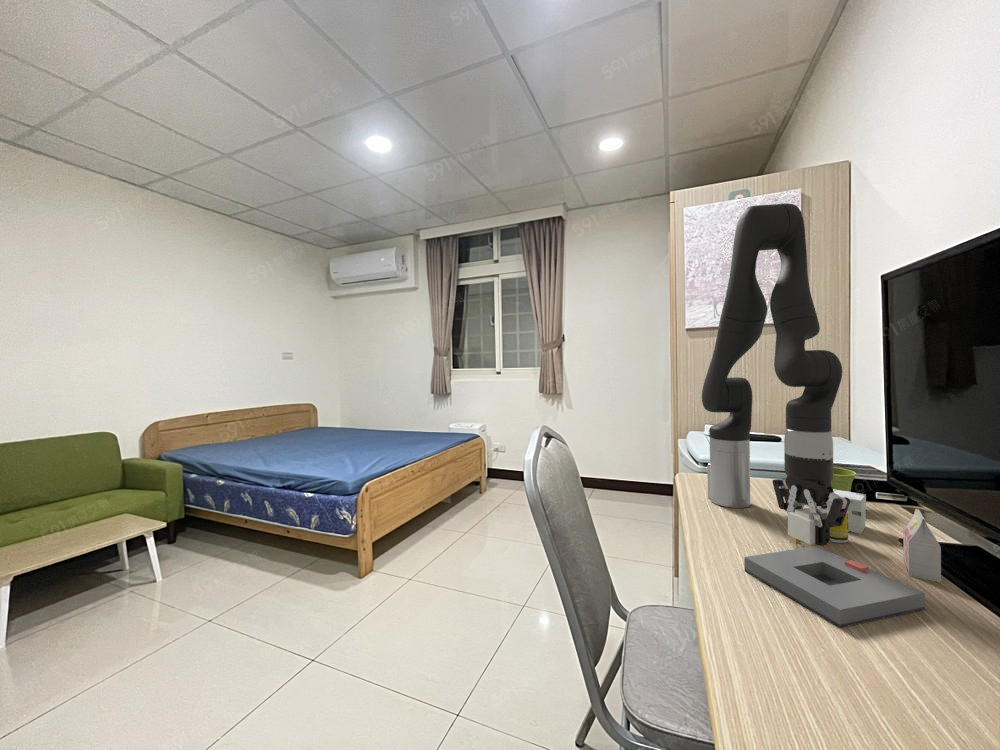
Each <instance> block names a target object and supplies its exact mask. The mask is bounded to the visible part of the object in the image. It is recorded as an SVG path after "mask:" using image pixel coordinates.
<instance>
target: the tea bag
mask: <svg viewBox="0 0 1000 750" xmlns="http://www.w3.org/2000/svg"><path fill="white" fill-rule="evenodd" d="M902 531H903V533H902V534H903V535H902V536H903V537H902V538H903V543H902V544H903V549H902V550H903V563H904V565H905V568H906V571H907V573H908V576H909V577H914V578H917V579H922V578H923V579H922V580H926V579H929V580H928V581H931V580H932V582H935V581H938V582H937V583H940V582H941V583H942V549H941V548H942V547H941V545H940V543H939V542H938V540H937V538H936V537H935V535H934V534H933V531H932V530H931V529H930V527H929V526H928V524H927V522H926V520H925V517H924V515H923V514H922V512H921V510H920V509H917V508H915V510H914V512H913V514H912V517H911V518H910V519H909V520H908V522H907V523H906V524H905V526H904V527H903V528H902Z"/></svg>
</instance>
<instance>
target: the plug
mask: <svg viewBox="0 0 1000 750" xmlns="http://www.w3.org/2000/svg"><path fill="white" fill-rule="evenodd" d="M821 516H822V514H821ZM822 519H823V517H822ZM815 526H817V525H816V523H815V519H814V515H813V514H812V513H811V512H810V509H809V507H805V508H804V507H803V509H796V510H795V512H789V513H788V514H787V535H788V536H790V537H789V540H790V541H789V542H790V543H791V544H793V545H795V546H797V545H801V544H802V543H801V542H803V543H804V548H806V547H812V546H817V547H820V546H819V545H816V544H815Z"/></svg>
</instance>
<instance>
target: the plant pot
mask: <svg viewBox="0 0 1000 750" xmlns="http://www.w3.org/2000/svg"><path fill="white" fill-rule="evenodd" d="M855 476H857V472H855V471H854V470H850V469H847V468H840V467H834V466H833V479H832V481H831V486H832V488H833V489H835V490H841V491H848V492H852V491H851V489H852V485H853V481H854V479H855Z"/></svg>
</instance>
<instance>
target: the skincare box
mask: <svg viewBox="0 0 1000 750" xmlns="http://www.w3.org/2000/svg"><path fill="white" fill-rule="evenodd" d="M833 491H834V493H835V494H837V495H839V496H840V497H847V498H849V499H850V505H849V507H848V510H847V511H848V532H850V531H851V533H855V534H859V535H862V533H863V531H864V529H865V528H866V517H867V516H866V515H867V514H866V510H867V509H866V508H867V507H866V502H867V494H864V493H859V492H852V491H851V492H848V491H841V490H835V489H833Z"/></svg>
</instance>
